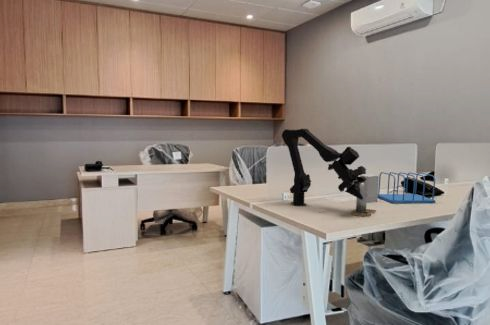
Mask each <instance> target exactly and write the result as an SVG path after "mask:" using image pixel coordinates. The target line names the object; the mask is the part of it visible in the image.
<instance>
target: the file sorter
mask: <svg viewBox="0 0 490 325" xmlns="http://www.w3.org/2000/svg"><path fill="white" fill-rule="evenodd" d="M382 174H384V175H388V179H387V180H388V181H387V193H380V189H381V179H382V178H381V177H382ZM395 175H397V181H396V176H395ZM404 175H406V177H405V176H404ZM378 176H379V179H378V197H377V199H381V200H383V201H386V202H389V203H390V204H436V200H435V198H434V197H435V188H436V177H435V175H432V174H430V173H424V172H417V173H415V172H412V171H411V172H408V173H406V172H401V171H400V172H398V173H396V172H384V171H382V172H379V175H378ZM400 176H401V177H402V178H403V188H402V189H403V191H402V193H399V182H400ZM409 176H411V177H413V190H412V194H411V193H409V194H408V186H409V185H408V184H409ZM415 176H416V177H415ZM418 176H421V177H422V179H423V188H422V195H419V194H417V187H418V186H417V185H418ZM425 176H429V177H433V185H432V186H433V188H432V196H431V197H432V198H429V197H426V196H425V186H426V178H425ZM390 177H393V189H392V190H393V191H392V193H390V192H389V191H390ZM396 182H397V183H396ZM396 184H397V187H396ZM395 190H396V192H395Z"/></svg>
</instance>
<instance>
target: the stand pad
mask: <svg viewBox="0 0 490 325" xmlns="http://www.w3.org/2000/svg"><path fill="white" fill-rule="evenodd" d="M366 211H369V212H371V215H372V214H373V215H374V214H376V212H377V210H376V209H370V208H369V209H368V208H366Z"/></svg>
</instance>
